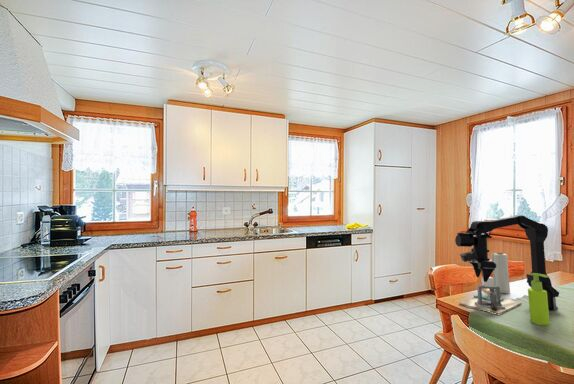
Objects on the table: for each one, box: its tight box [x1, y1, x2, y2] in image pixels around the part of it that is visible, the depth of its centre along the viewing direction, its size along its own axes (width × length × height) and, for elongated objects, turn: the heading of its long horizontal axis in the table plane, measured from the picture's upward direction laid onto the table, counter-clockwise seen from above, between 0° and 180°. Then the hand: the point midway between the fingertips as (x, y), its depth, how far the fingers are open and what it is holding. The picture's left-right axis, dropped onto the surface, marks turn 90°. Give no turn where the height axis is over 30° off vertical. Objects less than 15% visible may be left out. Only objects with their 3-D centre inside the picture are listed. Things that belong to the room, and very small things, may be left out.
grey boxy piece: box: [476, 276, 502, 306], centre depth 130 cm, size 4×8×12 cm, turn 75°
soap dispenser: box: [527, 272, 551, 326], centre depth 113 cm, size 6×7×20 cm
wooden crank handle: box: [481, 289, 497, 311], centre depth 135 cm, size 6×23×7 cm, turn 145°
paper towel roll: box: [490, 252, 511, 294], centre depth 155 cm, size 7×6×21 cm
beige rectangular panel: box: [458, 293, 523, 315], centre depth 135 cm, size 17×24×2 cm
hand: (481, 279), depth 133 cm, fingers open, 9 cm apart
